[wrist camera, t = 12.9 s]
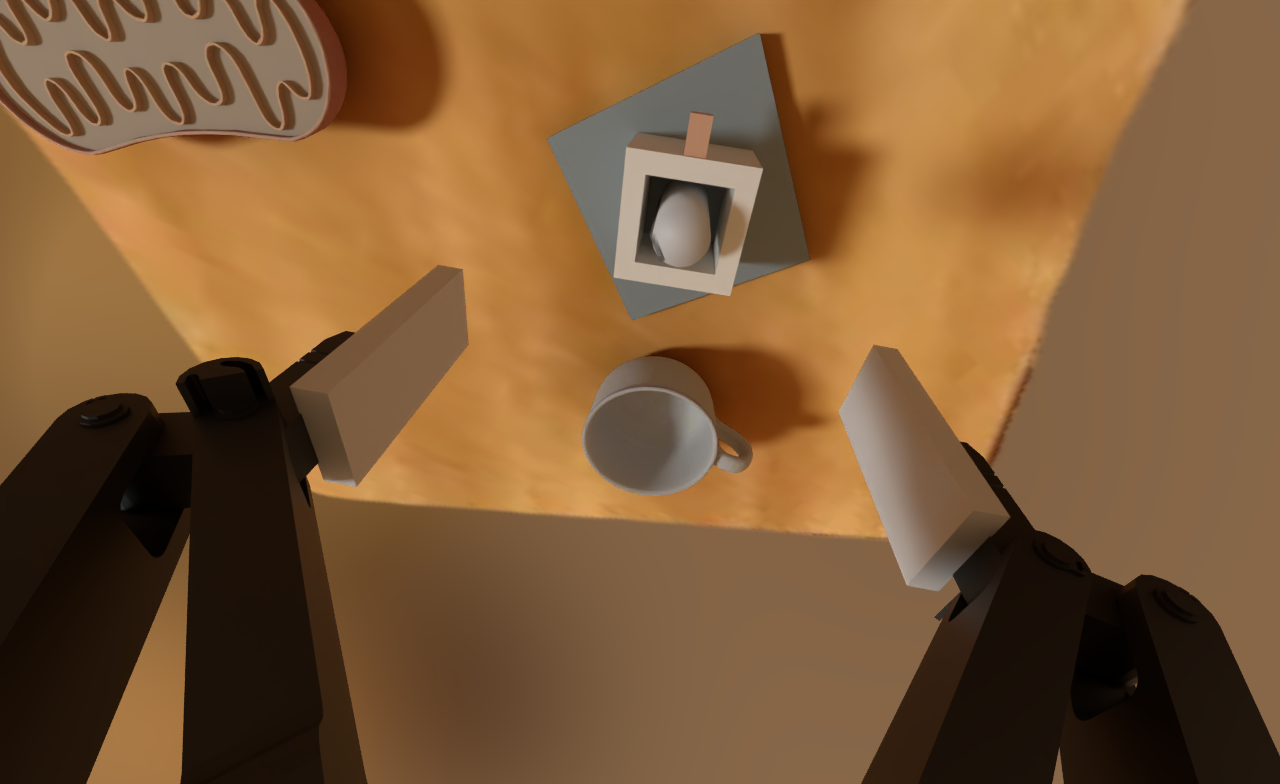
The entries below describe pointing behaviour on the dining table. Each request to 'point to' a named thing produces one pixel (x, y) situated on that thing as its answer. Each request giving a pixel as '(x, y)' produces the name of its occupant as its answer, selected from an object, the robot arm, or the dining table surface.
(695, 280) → the white square sleeve
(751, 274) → the board
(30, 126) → the anatomical model
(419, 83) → the dining table surface
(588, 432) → the teacup
